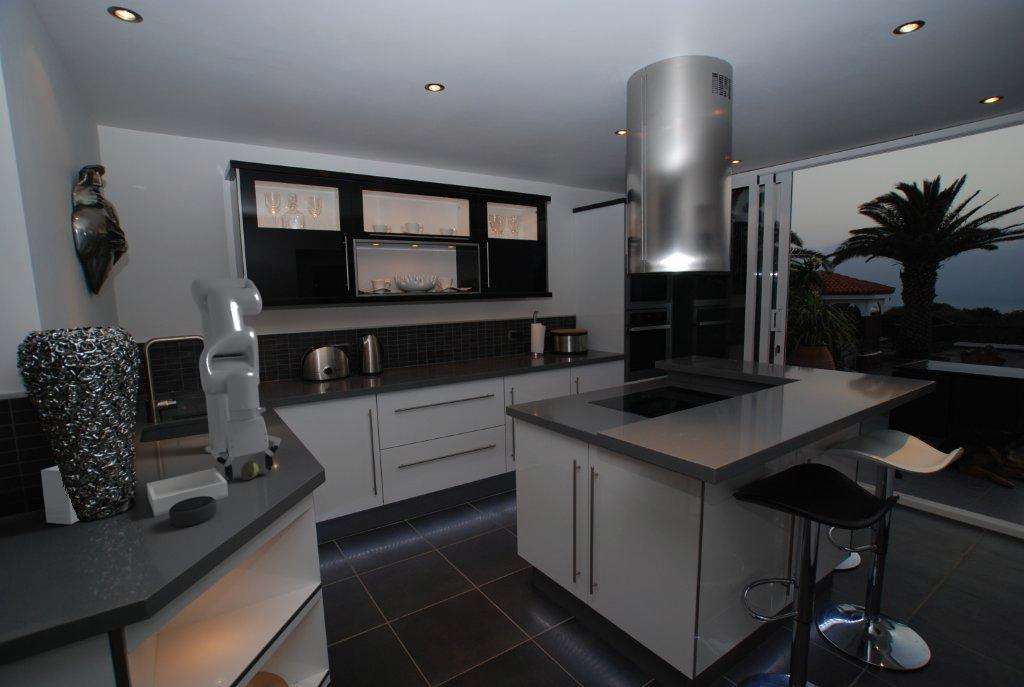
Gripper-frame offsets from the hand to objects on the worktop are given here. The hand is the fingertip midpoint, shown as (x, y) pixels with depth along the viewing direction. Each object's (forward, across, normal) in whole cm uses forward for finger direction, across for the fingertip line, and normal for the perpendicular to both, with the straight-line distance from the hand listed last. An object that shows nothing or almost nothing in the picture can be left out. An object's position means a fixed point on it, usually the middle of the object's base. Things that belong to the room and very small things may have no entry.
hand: (250, 473), depth 130 cm
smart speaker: (+2, +16, +19) cm, 25 cm away
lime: (+2, 0, 0) cm, 2 cm away
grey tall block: (+2, +36, -4) cm, 36 cm away
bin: (+1, +15, +3) cm, 15 cm away
